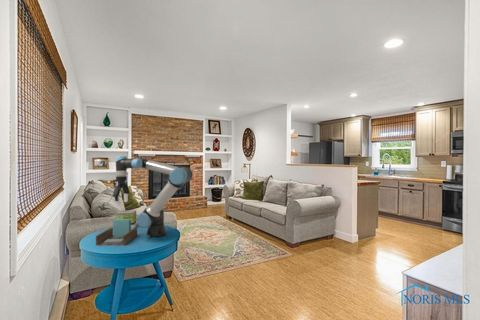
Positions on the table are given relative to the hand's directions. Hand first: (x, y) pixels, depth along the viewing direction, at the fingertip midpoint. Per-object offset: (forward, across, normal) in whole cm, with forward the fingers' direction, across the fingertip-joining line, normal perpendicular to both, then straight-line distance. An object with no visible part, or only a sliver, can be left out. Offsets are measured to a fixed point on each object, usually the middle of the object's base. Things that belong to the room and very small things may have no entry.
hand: (121, 203), depth 186 cm
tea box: (+28, -30, -11) cm, 42 cm away
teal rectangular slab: (+28, 0, 0) cm, 28 cm away
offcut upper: (+26, +13, +1) cm, 29 cm away
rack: (+28, +7, 0) cm, 28 cm away
